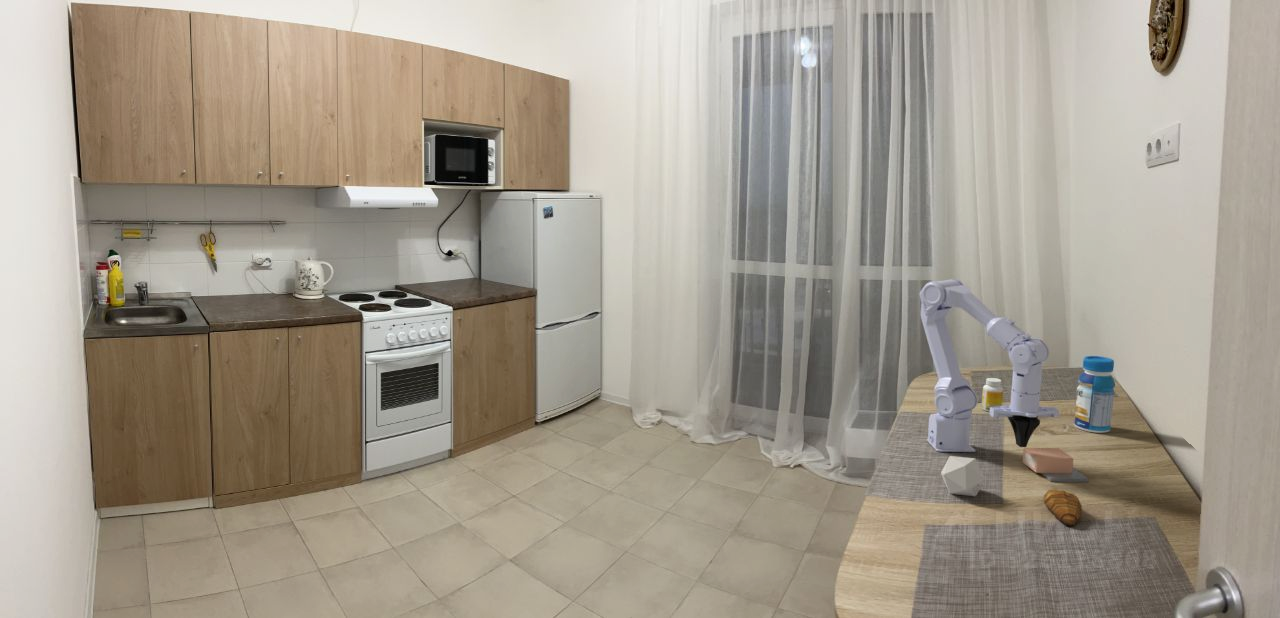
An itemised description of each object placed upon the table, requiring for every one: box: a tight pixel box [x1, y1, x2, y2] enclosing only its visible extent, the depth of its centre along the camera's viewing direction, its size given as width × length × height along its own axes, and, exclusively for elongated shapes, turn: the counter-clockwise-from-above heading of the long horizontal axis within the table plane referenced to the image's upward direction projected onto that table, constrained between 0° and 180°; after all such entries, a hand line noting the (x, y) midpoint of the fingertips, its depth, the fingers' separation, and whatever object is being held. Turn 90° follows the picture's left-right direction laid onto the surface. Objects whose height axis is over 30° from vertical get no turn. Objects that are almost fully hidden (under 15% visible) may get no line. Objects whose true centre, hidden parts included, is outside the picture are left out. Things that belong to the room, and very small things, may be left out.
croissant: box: [1042, 488, 1083, 527], centre depth 127 cm, size 14×7×5 cm, turn 159°
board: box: [1040, 467, 1089, 483], centre depth 146 cm, size 8×12×1 cm, turn 174°
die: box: [940, 455, 986, 497], centre depth 137 cm, size 8×9×10 cm
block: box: [1022, 447, 1075, 474], centre depth 146 cm, size 4×6×8 cm
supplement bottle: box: [981, 377, 1004, 413], centre depth 187 cm, size 5×5×10 cm
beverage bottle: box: [1073, 355, 1116, 434], centre depth 169 cm, size 8×8×20 cm
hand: (1021, 445), depth 146 cm, fingers closed
